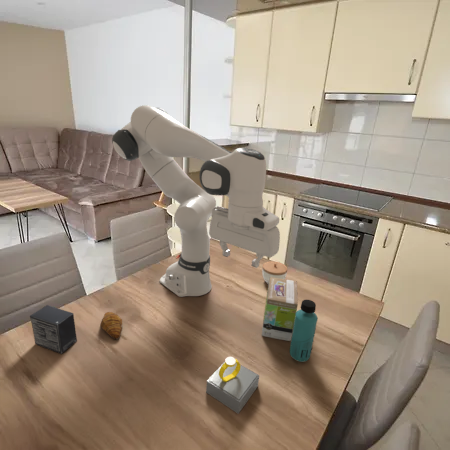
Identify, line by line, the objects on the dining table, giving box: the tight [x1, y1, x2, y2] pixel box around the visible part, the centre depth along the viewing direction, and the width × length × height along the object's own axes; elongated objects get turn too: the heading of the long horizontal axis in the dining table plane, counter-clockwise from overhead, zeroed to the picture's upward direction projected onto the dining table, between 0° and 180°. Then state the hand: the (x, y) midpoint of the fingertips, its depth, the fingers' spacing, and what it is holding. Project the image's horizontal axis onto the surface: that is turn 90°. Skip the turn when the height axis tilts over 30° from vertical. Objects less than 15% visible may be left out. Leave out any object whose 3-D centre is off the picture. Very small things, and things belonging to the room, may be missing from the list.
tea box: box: [261, 277, 299, 342], centre depth 105 cm, size 15×10×15 cm, turn 168°
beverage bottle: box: [289, 299, 318, 363], centre depth 90 cm, size 6×7×20 cm
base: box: [205, 361, 260, 415], centre depth 80 cm, size 10×10×4 cm
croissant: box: [100, 311, 123, 340], centre depth 100 cm, size 14×7×5 cm, turn 33°
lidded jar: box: [261, 260, 288, 286], centre depth 132 cm, size 11×11×9 cm
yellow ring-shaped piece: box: [219, 356, 242, 382], centre depth 78 cm, size 6×3×6 cm, turn 125°
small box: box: [29, 304, 78, 355], centre depth 91 cm, size 11×6×10 cm, turn 71°
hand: (240, 260), depth 84 cm, fingers open, 8 cm apart
